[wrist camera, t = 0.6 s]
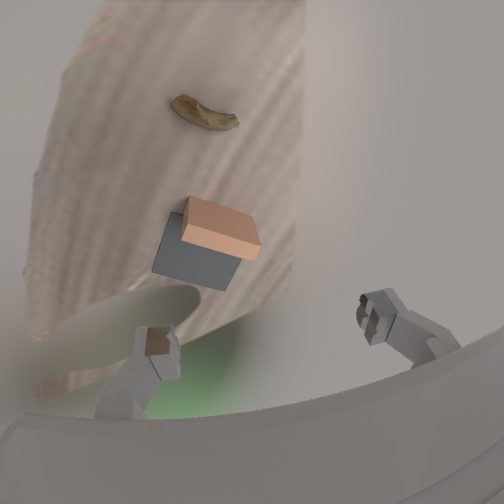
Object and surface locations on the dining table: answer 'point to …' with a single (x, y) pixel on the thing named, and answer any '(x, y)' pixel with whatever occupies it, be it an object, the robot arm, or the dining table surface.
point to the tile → (220, 229)
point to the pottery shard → (203, 114)
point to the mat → (192, 259)
